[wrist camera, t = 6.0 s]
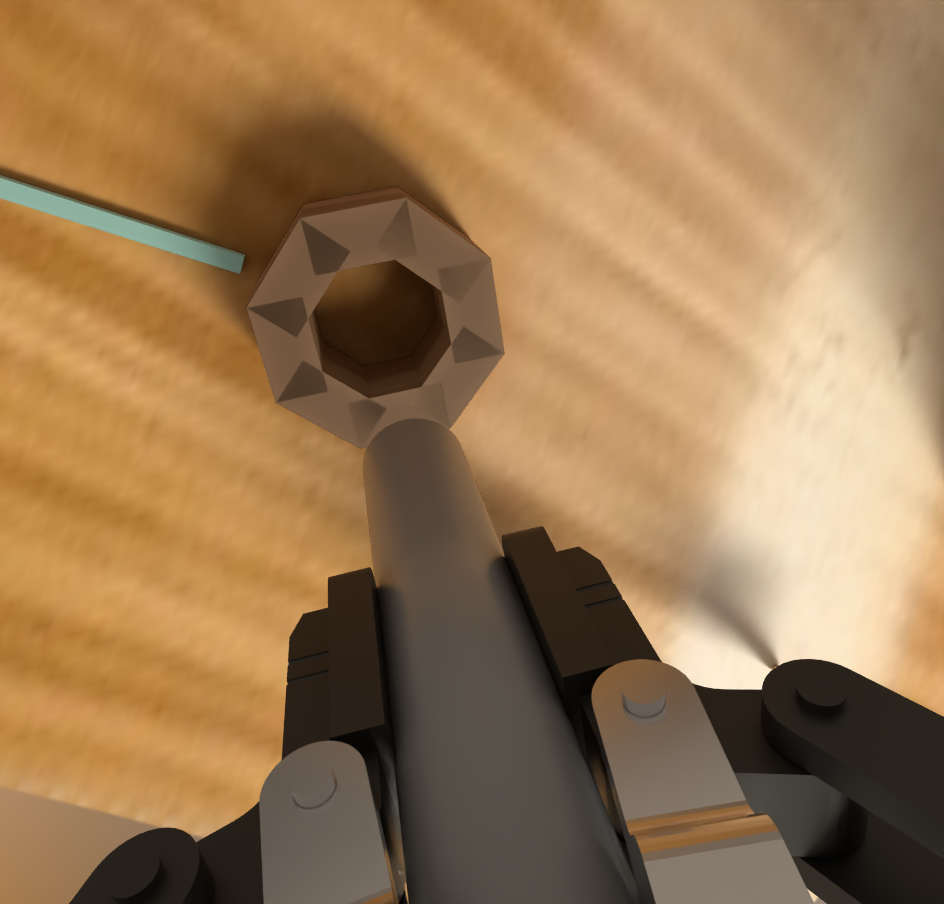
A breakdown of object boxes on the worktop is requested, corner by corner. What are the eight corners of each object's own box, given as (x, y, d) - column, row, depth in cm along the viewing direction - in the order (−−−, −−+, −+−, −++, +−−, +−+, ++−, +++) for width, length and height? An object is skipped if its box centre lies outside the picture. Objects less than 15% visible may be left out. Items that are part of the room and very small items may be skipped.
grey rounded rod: (455, 408, 17) (1008, 1692, 3) (471, 496, 18) (935, 1736, 4) (352, 431, 16) (476, 1915, 3) (375, 519, 18) (545, 1899, 4)
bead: (461, 174, 29) (479, 183, 25) (493, 381, 33) (513, 414, 30) (236, 216, 28) (223, 233, 25) (298, 423, 32) (294, 463, 29)
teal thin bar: (245, 254, 29) (244, 256, 28) (241, 271, 29) (239, 273, 29) (-39, 162, 26) (-46, 163, 25) (-42, 181, 26) (-48, 182, 26)
